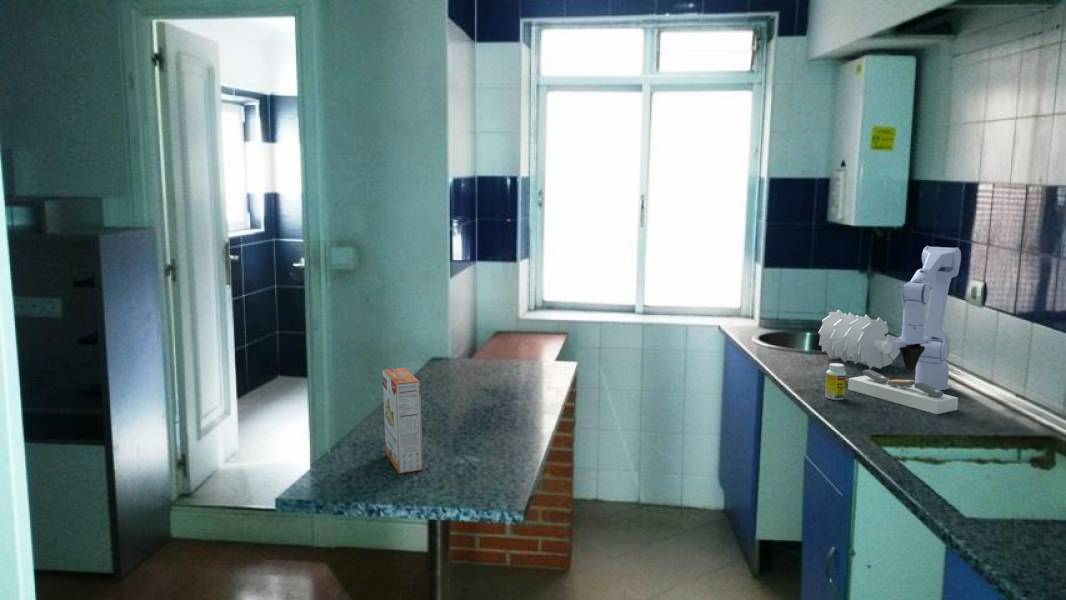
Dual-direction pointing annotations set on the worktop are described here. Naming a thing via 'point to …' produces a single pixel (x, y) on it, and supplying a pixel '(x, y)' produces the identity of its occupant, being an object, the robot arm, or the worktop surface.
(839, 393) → the supplement bottle
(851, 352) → the white ribbed cylinder
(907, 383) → the orange flat bar
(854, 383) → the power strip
